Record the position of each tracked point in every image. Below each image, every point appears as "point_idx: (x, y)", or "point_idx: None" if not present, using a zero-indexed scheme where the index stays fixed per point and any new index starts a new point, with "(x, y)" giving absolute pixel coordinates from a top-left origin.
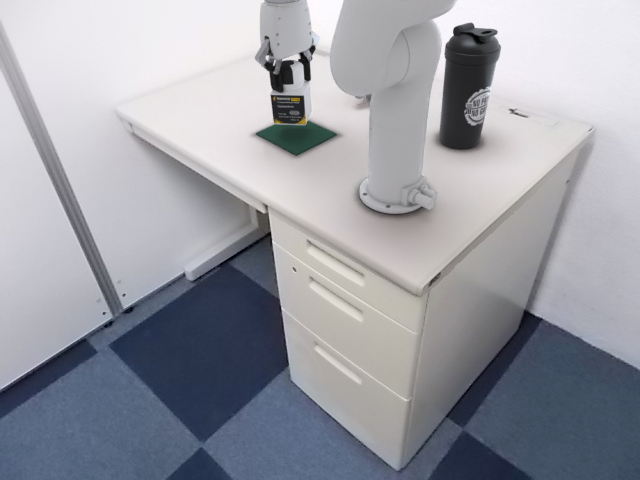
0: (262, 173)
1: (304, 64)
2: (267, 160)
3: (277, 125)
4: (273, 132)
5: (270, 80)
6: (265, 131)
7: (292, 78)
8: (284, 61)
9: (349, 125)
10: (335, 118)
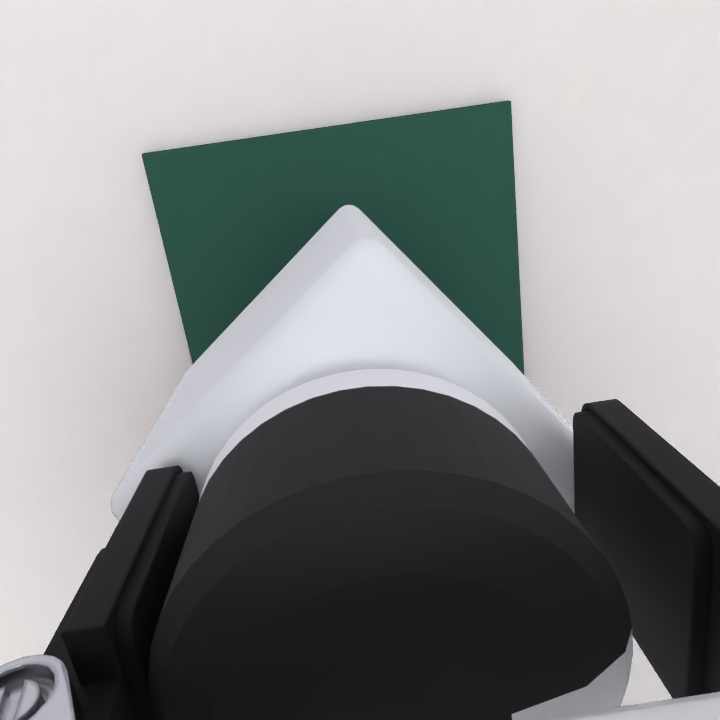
0: (7, 553)
1: (672, 647)
2: (79, 469)
3: (319, 159)
4: (245, 233)
5: (79, 596)
6: (207, 183)
7: None
8: (405, 639)
9: (652, 426)
10: (665, 306)
